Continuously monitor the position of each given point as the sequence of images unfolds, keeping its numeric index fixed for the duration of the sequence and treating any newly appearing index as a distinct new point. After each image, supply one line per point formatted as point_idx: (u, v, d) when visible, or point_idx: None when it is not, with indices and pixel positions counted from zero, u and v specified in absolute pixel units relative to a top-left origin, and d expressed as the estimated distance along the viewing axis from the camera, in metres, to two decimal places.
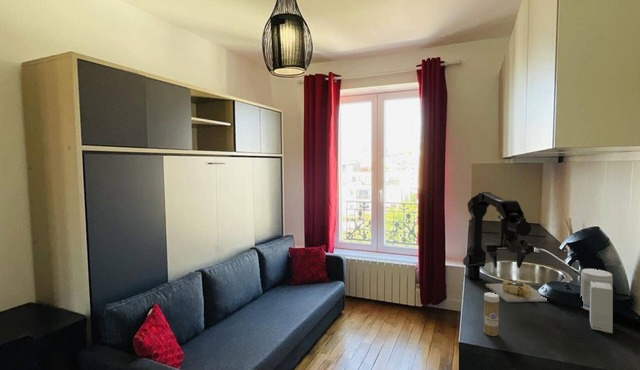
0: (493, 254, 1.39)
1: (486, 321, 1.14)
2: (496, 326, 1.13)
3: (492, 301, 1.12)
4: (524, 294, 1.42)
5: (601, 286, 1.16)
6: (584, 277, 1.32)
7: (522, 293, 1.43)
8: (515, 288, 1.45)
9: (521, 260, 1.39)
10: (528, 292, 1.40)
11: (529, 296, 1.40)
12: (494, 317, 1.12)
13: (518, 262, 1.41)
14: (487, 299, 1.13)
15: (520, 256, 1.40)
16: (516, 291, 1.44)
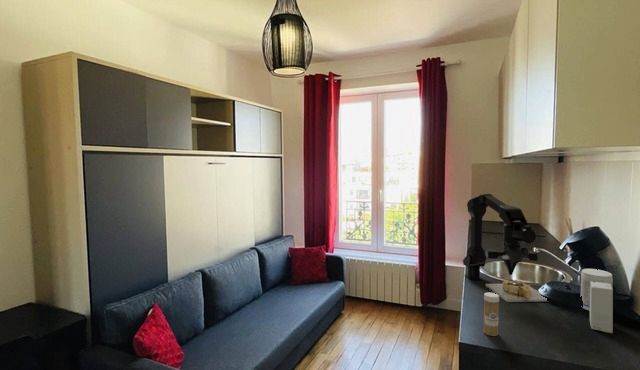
0: (506, 261, 1.40)
1: (486, 321, 1.14)
2: (496, 326, 1.13)
3: (492, 301, 1.12)
4: (524, 294, 1.42)
5: (601, 286, 1.16)
6: (584, 277, 1.32)
7: (522, 293, 1.43)
8: (515, 288, 1.45)
9: (513, 267, 1.41)
10: (528, 292, 1.40)
11: (529, 296, 1.40)
12: (494, 317, 1.12)
13: None
14: (487, 299, 1.13)
15: (512, 263, 1.41)
16: (516, 291, 1.44)
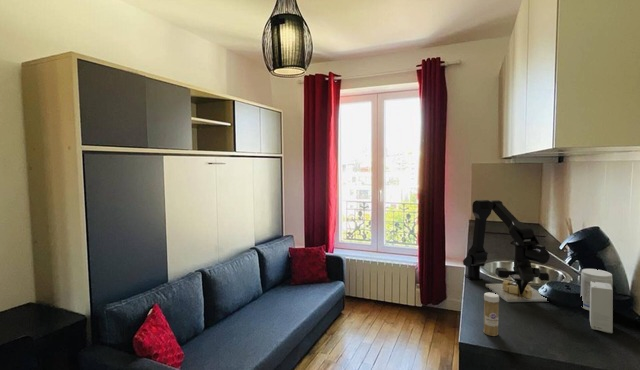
0: (517, 280, 1.39)
1: (486, 321, 1.14)
2: (496, 326, 1.13)
3: (492, 301, 1.12)
4: (524, 294, 1.42)
5: (601, 286, 1.16)
6: (584, 277, 1.32)
7: None
8: (515, 288, 1.45)
9: (523, 286, 1.40)
10: (528, 292, 1.40)
11: (529, 296, 1.40)
12: (494, 317, 1.12)
13: None
14: (487, 299, 1.13)
15: (523, 282, 1.41)
16: (516, 291, 1.44)
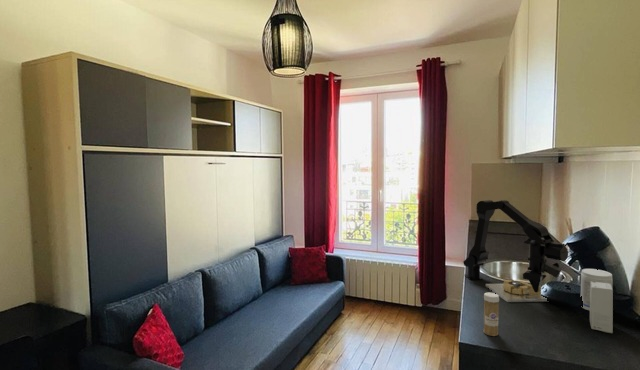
0: None
1: (486, 321, 1.14)
2: (496, 326, 1.13)
3: (492, 301, 1.12)
4: None
5: (601, 286, 1.16)
6: (584, 277, 1.32)
7: (532, 291, 1.45)
8: (527, 288, 1.44)
9: (539, 284, 1.43)
10: (540, 288, 1.44)
11: (540, 291, 1.45)
12: (494, 317, 1.12)
13: None
14: (487, 299, 1.13)
15: None
16: (528, 291, 1.45)
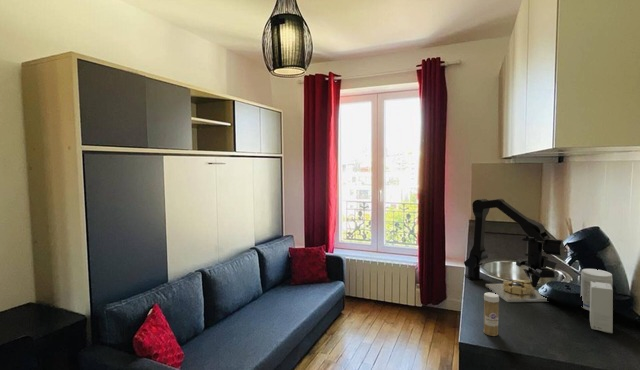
0: None
1: (486, 321, 1.14)
2: (496, 326, 1.13)
3: (492, 301, 1.12)
4: (531, 287, 1.50)
5: (601, 286, 1.16)
6: (584, 277, 1.32)
7: None
8: (529, 286, 1.47)
9: None
10: None
11: None
12: (494, 317, 1.12)
13: None
14: (487, 299, 1.13)
15: None
16: None
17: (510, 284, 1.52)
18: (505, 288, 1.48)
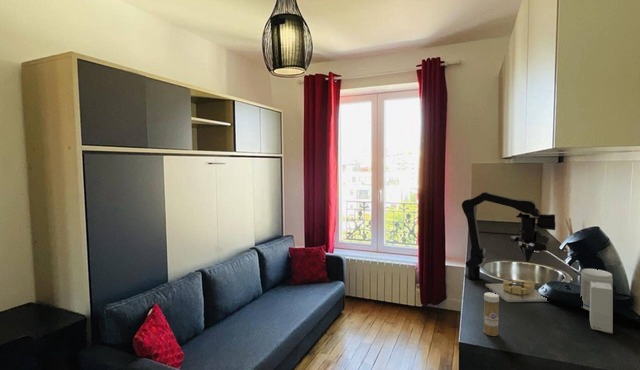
0: None
1: (486, 321, 1.14)
2: (496, 326, 1.13)
3: (492, 301, 1.12)
4: (530, 287, 1.50)
5: (601, 286, 1.16)
6: (584, 277, 1.32)
7: None
8: (529, 286, 1.47)
9: None
10: None
11: None
12: (494, 317, 1.12)
13: None
14: (487, 299, 1.13)
15: None
16: None
17: (510, 284, 1.52)
18: (505, 288, 1.48)
